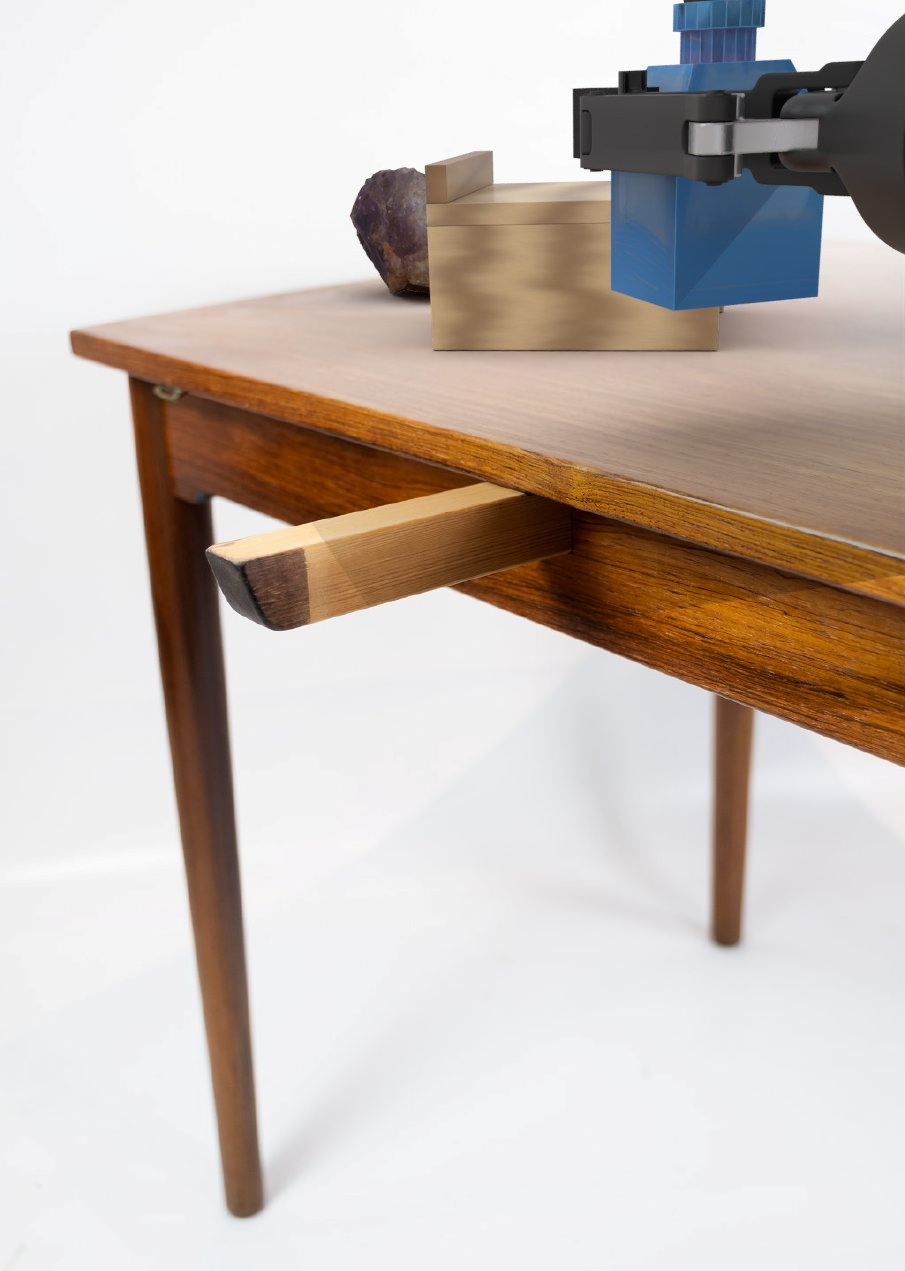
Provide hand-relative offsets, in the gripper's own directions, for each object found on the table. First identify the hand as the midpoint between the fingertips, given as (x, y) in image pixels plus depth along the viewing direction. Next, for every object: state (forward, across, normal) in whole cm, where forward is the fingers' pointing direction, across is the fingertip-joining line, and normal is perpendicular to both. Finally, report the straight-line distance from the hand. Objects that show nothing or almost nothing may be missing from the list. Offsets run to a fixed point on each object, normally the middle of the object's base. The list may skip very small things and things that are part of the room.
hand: (658, 118), depth 56 cm
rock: (+41, +1, -13) cm, 42 cm away
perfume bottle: (-5, 0, -7) cm, 8 cm away
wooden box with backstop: (+21, +6, -12) cm, 25 cm away
